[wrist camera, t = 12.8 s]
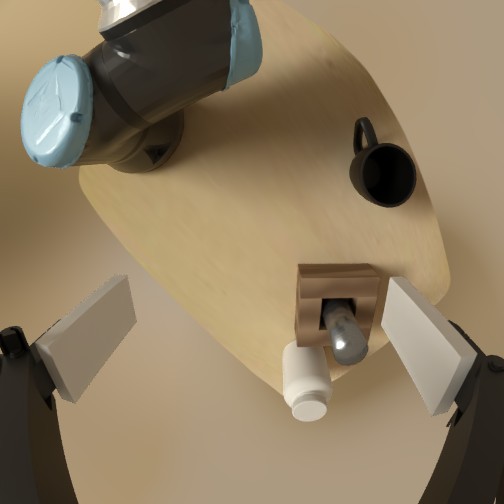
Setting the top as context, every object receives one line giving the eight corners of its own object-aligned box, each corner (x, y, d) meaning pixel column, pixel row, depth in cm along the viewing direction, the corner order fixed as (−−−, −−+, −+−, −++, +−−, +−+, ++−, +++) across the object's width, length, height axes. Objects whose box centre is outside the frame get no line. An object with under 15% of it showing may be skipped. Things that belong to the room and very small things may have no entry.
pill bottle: (273, 355, 50) (272, 414, 36) (303, 328, 48) (313, 386, 34) (302, 374, 52) (308, 432, 37) (332, 350, 49) (347, 407, 35)
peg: (320, 289, 44) (336, 338, 31) (346, 288, 44) (371, 336, 30) (318, 312, 45) (332, 366, 32) (343, 311, 45) (364, 363, 32)
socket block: (297, 263, 45) (301, 278, 39) (367, 263, 44) (380, 277, 38) (294, 327, 48) (296, 347, 42) (358, 325, 47) (367, 343, 42)
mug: (369, 118, 37) (394, 107, 28) (395, 189, 40) (423, 196, 31) (323, 133, 38) (338, 124, 29) (351, 206, 41) (372, 217, 32)
